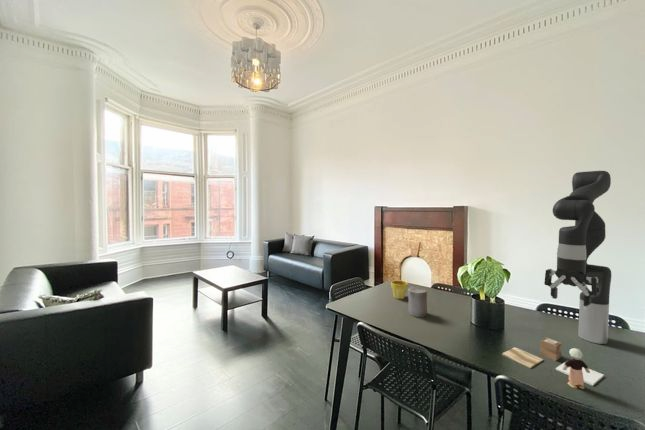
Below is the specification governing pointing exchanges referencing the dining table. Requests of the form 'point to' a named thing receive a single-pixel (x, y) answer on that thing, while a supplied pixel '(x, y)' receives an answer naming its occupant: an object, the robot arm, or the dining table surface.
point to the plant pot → (399, 288)
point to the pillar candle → (417, 301)
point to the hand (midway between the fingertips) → (569, 301)
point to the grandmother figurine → (576, 368)
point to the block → (550, 348)
